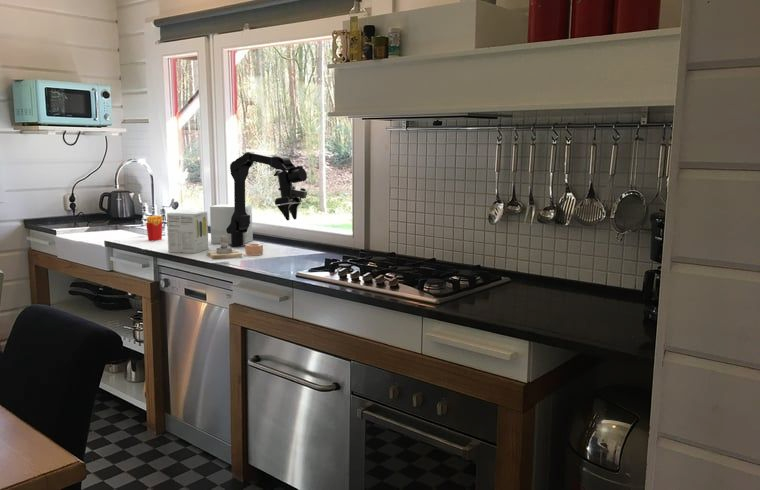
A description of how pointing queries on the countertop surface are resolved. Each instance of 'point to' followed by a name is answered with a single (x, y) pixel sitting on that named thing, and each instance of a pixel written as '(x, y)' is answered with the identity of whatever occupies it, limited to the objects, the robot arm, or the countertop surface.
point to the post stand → (224, 251)
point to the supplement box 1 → (187, 231)
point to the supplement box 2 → (227, 222)
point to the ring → (253, 249)
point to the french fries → (154, 227)
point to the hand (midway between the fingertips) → (291, 219)
